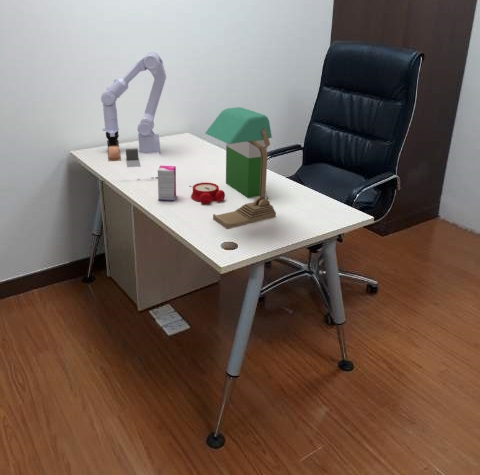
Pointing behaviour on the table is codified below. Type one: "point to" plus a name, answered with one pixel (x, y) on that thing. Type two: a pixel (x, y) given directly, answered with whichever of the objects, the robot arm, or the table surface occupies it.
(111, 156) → the terracotta canister
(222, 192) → the alarm clock
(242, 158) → the hardback book
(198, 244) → the table surface
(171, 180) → the supplement box
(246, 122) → the banker's lamp
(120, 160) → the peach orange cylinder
